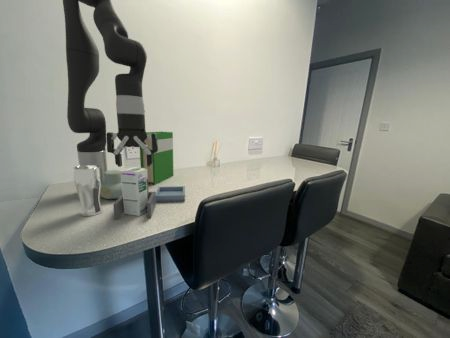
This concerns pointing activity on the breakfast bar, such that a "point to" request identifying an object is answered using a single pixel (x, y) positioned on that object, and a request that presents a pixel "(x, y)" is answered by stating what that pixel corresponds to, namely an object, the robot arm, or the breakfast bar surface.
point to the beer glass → (88, 188)
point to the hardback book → (159, 158)
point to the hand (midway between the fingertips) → (134, 166)
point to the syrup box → (135, 190)
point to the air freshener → (111, 185)
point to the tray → (170, 194)
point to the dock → (120, 205)
